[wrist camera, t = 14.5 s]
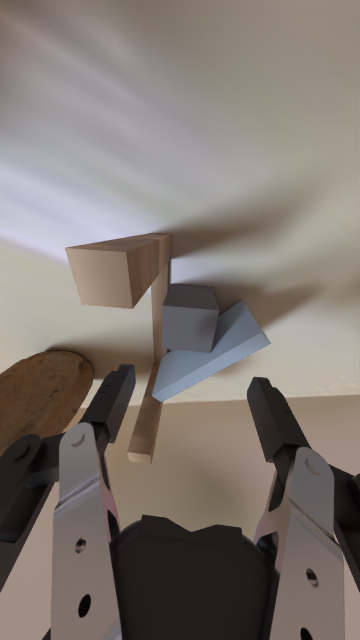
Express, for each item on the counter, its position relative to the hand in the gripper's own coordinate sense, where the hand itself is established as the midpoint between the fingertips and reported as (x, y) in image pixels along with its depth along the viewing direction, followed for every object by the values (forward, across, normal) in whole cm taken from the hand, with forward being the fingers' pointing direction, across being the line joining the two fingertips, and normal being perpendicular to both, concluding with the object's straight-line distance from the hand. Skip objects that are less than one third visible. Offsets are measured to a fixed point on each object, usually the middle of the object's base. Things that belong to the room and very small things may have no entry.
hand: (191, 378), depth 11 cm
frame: (+11, +4, +3) cm, 12 cm away
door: (+11, -2, +5) cm, 12 cm away
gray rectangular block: (+11, 0, 0) cm, 11 cm away
